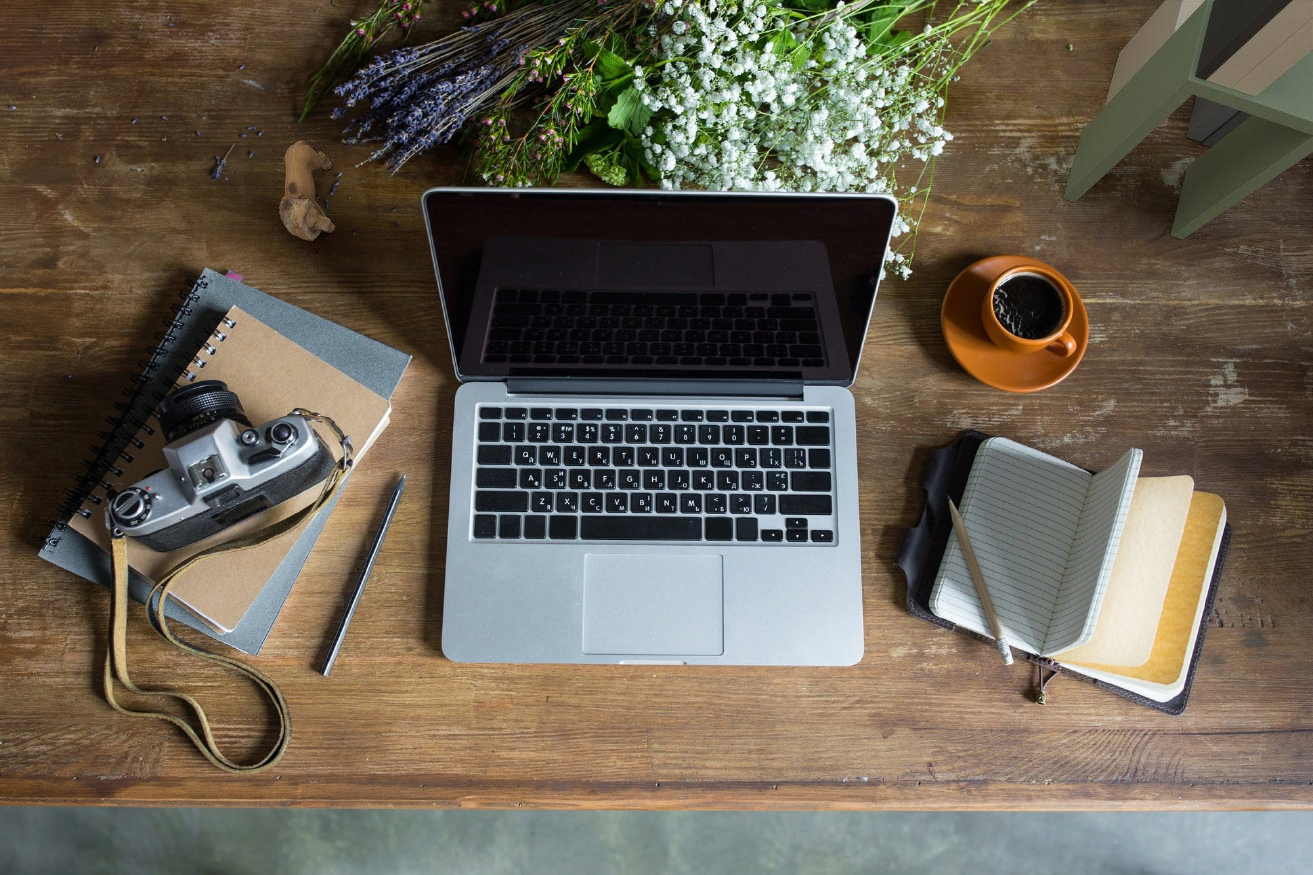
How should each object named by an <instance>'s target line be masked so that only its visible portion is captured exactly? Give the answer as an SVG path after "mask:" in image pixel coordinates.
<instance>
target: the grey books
mask: <svg viewBox="0 0 1313 875" xmlns="http://www.w3.org/2000/svg"><path fill="white" fill-rule="evenodd" d="M1251 115H1252V114H1249V113H1246V112H1243V111H1240V110H1237V109H1234V108H1231V107H1228V106H1225V105H1222V104H1219V103H1216V102H1213V101H1210V100H1207V99H1204V98H1202V97H1199V96H1196V95H1195V98H1194V103H1193V107H1192V111H1191V115H1190V118H1189V122H1188V127H1187V131H1186V136H1185V137H1186V138H1188V139H1191V140H1192V141H1193V140H1194V141H1197V142H1199V143H1201V145H1202V146H1204V147H1208V148H1209V149H1210V148H1211V147H1212V146H1214V145H1215V144H1216V143H1217V142H1219V141H1220V140H1221V139H1222V138H1224V137H1225V136H1226V135H1227V134H1229V133H1230V132H1231V131H1232V130H1234V129H1235V128H1236V127H1237V126H1239V125H1240V124H1241V123H1242V122H1244V121H1245V120H1246V119H1248V118H1249V117H1250V116H1251Z"/></svg>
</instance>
